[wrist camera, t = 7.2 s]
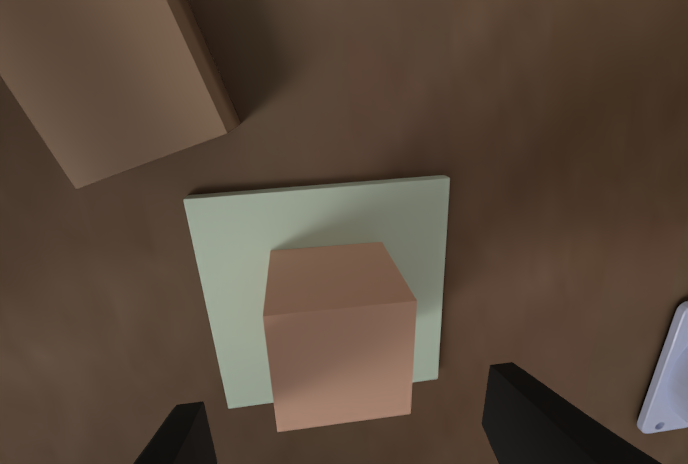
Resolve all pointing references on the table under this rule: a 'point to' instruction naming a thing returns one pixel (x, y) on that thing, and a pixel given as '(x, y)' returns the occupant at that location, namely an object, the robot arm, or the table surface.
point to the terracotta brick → (338, 335)
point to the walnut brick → (112, 81)
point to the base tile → (303, 232)
